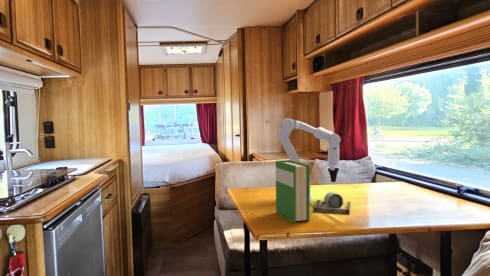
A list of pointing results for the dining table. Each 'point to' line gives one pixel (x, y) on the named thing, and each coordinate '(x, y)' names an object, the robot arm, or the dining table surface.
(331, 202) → the ceramic mug
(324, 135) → the robot arm
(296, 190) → the hardback book
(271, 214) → the dining table surface
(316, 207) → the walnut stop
